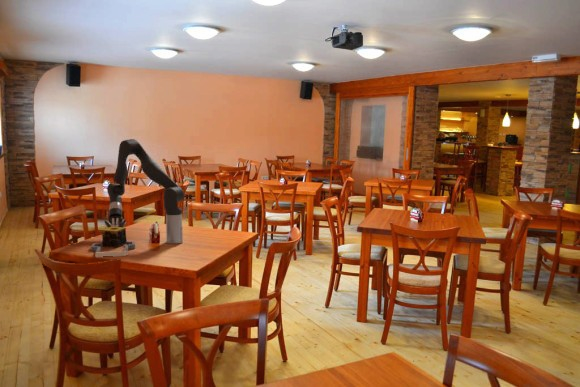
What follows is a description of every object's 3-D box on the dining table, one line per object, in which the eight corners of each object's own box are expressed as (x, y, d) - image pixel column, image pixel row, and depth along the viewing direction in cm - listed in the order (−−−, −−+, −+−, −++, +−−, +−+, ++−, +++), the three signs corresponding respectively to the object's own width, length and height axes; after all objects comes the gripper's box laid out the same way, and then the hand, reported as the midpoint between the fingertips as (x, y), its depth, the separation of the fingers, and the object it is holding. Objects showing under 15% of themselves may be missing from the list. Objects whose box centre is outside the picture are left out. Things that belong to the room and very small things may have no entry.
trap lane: (135, 245, 284) (135, 240, 283) (134, 255, 262) (134, 250, 262) (92, 247, 277) (92, 243, 277) (88, 257, 256) (88, 253, 256)
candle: (117, 248, 277) (117, 231, 275) (101, 247, 279) (100, 230, 277) (127, 243, 286) (126, 227, 285) (111, 242, 288) (111, 226, 287)
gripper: (103, 207, 295) (102, 231, 285) (126, 206, 299) (126, 230, 289) (104, 214, 301) (103, 238, 291) (127, 213, 305) (127, 237, 295)
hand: (115, 234), depth 290 cm, fingers closed
